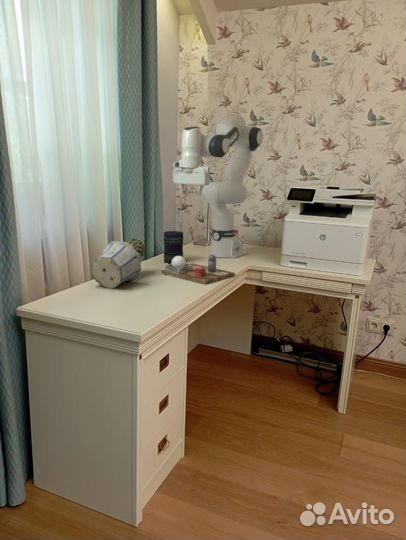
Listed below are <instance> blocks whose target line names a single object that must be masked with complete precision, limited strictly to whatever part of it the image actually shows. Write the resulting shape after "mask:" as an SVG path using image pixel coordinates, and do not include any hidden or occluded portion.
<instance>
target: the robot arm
mask: <svg viewBox="0 0 406 540" xmlns="http://www.w3.org/2000/svg"><path fill="white" fill-rule="evenodd" d="M181 135H182V136H181V150H182V151H181V152H182V154H181V159H180V160H177V161H175V162H174V163H173V170H172V172H173V173H172V182H173V183H174V184H175V185H178V186H179V188H180V191H181V195H186V194H187V190H186V189H185V185H191V186H192V185H194V186H196V185H197V188H198V189H197V190H196V191H195V195H196V196H201V195H202V198H203V199H204V201H206V202H207V203H208V205H209V207H210V210H211V214H212V230H211V236H212V237H211V240H210V248H209V251H208V253H209V256H210V255H215V257H216V258H223V259H225V258H231V259H232V258H233V259H235V258H236V259H237V258H238V257H241V256H244V255H247V254H248V251H246V250H244V245H243V242H242V241H241V240H240V239H239V238H238V237H237V236H236V234H239V230H238V229H234V223H235V215H234V214H233V212H232V211H230V210H229V208H228V207H227V205H228V204H229V205H230V204H231V205H238V204H243V203H244V202H245V200H246V199H247V198H248V189H247V188H246V185H244V183H243V181H244V177H245V176H246V173H247V171H248V170H249V167H250V164H251V162H252V161H251V160H252V157H253V153H252V152H255V151H256V150H257V149H258V148H259V147H260V146H261V144H262V142H263V140H264V138H263V137H264V133H263V131H262V129H261V128H259V126H258V127H257V126H249V125H246V120H245V119H244V117H243V116H242V115H240V114H233V115H230V116H227V117H224V119H222V120H220V121H219V122H218V123H217V125H216V127H215V134H209V135H205V134H203V133H202V132H201V127H199V126H188V127H185V128H184V129H183V130H182V134H181ZM232 147H234V148H235V151H234V152H233V154H232V155H231V157H230V158H229V160H228V162H227V164H226V166H225V167H224V170H223V175H224V177H225V179H226V181H211V179H210V178H211V177H210V169H209V166H208V165H207V164H206V163H202V158H203V157H204V158H220V159H221V158H224V157H225V156H226V154H227V153H228V151H229V149H230V148H232Z"/></svg>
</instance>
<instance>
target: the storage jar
mask: <svg viewBox="0 0 406 540" xmlns="http://www.w3.org/2000/svg"><path fill="white" fill-rule="evenodd" d="M163 247H164V251H163V263H164V264H166V263H168V264H171V262H172V259H173V258H174V257H176V256H182V257H183V258H184V250H183V249H184V248H183V247H184V232H183V231H179V230H168V231H164V232H163ZM168 264H167V265H168Z"/></svg>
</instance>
